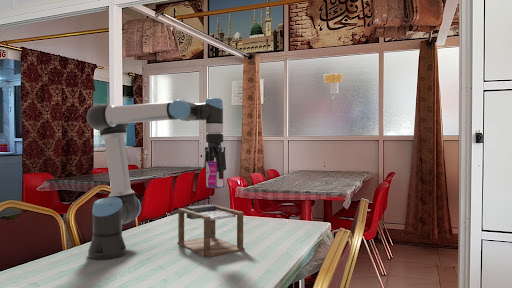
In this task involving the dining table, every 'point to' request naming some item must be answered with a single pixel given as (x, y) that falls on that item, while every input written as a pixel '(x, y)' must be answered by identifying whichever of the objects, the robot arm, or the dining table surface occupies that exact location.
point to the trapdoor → (209, 212)
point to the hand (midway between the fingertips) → (215, 185)
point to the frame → (210, 235)
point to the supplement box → (212, 174)
